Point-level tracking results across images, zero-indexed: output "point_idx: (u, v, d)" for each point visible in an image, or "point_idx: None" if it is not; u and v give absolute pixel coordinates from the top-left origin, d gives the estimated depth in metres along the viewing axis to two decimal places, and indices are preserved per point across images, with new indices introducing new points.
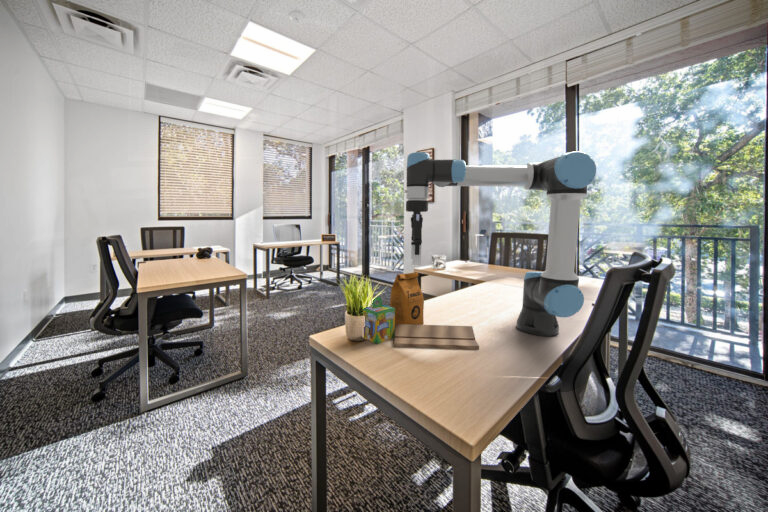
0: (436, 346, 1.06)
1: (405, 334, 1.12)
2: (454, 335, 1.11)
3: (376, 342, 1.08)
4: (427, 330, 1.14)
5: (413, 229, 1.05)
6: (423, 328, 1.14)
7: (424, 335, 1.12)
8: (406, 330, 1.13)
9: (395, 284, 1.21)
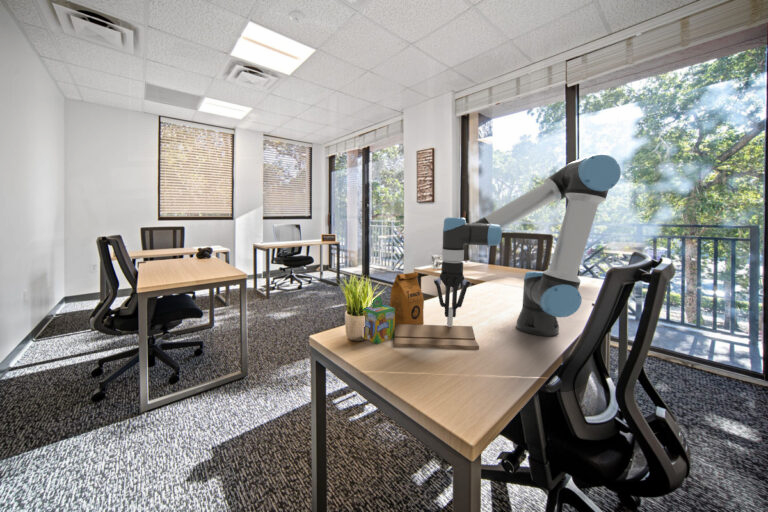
0: (436, 346, 1.06)
1: (405, 334, 1.12)
2: (454, 335, 1.11)
3: (376, 342, 1.08)
4: (427, 330, 1.14)
5: (445, 291, 1.15)
6: (423, 328, 1.14)
7: (424, 335, 1.12)
8: (406, 331, 1.14)
9: (395, 284, 1.21)
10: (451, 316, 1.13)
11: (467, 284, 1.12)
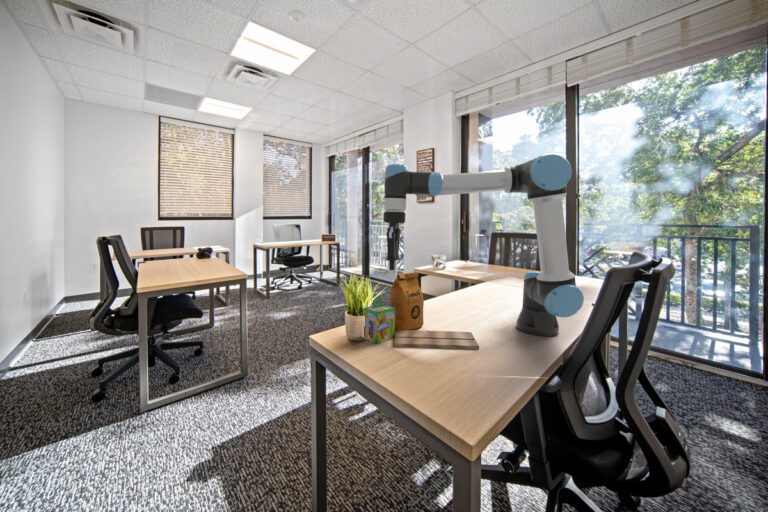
0: (436, 346, 1.06)
1: (405, 335, 1.13)
2: (454, 336, 1.12)
3: (376, 342, 1.08)
4: (426, 333, 1.15)
5: None
6: (423, 332, 1.16)
7: (424, 336, 1.12)
8: (406, 333, 1.14)
9: (395, 284, 1.21)
10: (396, 268, 1.12)
11: None
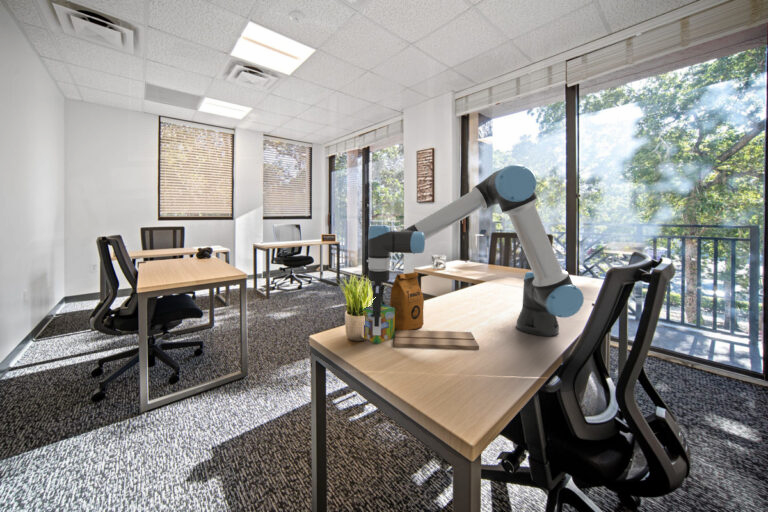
0: (436, 346, 1.06)
1: (405, 335, 1.13)
2: (454, 336, 1.12)
3: (376, 342, 1.08)
4: (426, 333, 1.15)
5: None
6: (423, 332, 1.16)
7: (424, 336, 1.12)
8: (406, 333, 1.14)
9: (395, 284, 1.21)
10: None
11: (382, 282, 1.18)
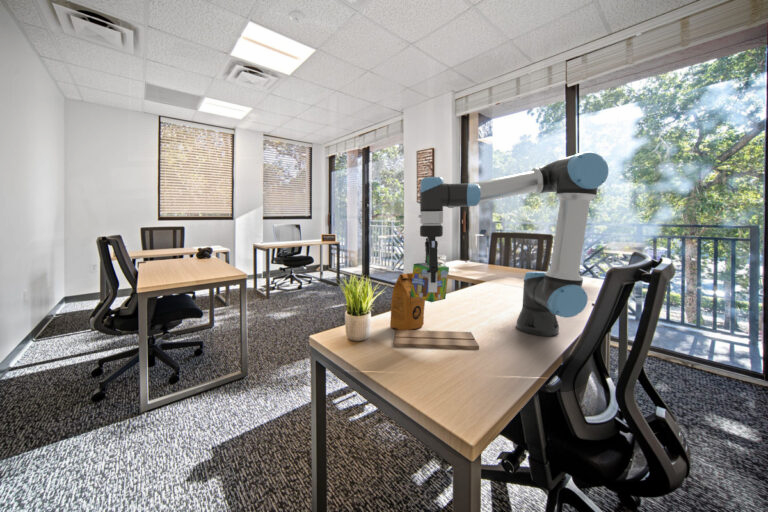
0: (436, 346, 1.06)
1: (405, 335, 1.13)
2: (454, 336, 1.12)
3: (430, 300, 1.03)
4: (426, 333, 1.15)
5: (428, 256, 1.03)
6: (423, 332, 1.16)
7: (424, 336, 1.12)
8: (406, 333, 1.14)
9: (397, 284, 1.20)
10: None
11: None
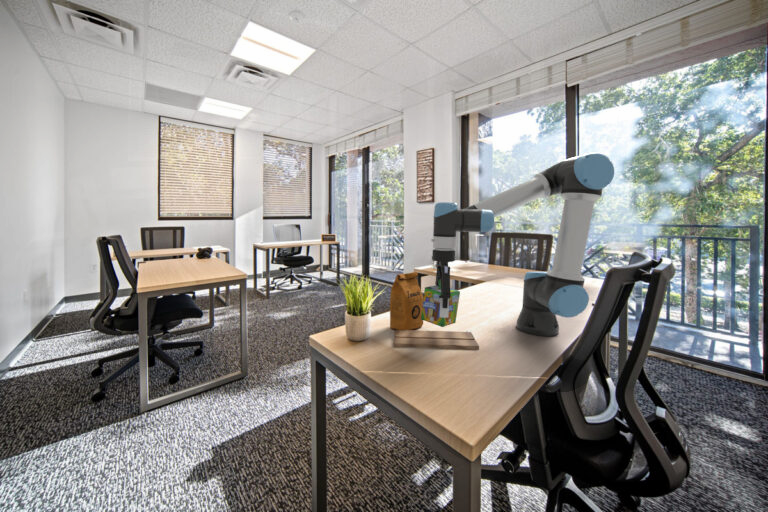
0: (436, 346, 1.06)
1: (405, 335, 1.13)
2: (454, 336, 1.12)
3: (441, 325, 1.03)
4: (426, 333, 1.15)
5: (440, 280, 1.03)
6: (423, 332, 1.16)
7: (424, 336, 1.12)
8: (406, 333, 1.14)
9: (395, 284, 1.21)
10: None
11: None
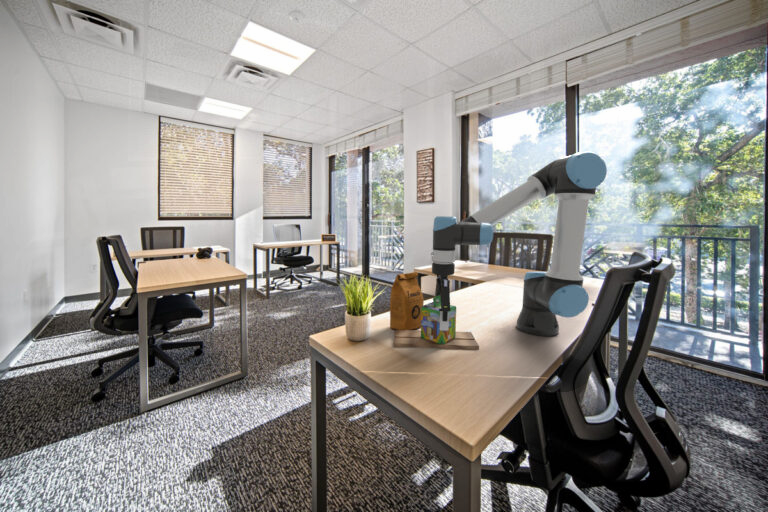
0: (436, 346, 1.06)
1: (405, 335, 1.13)
2: None
3: (441, 342, 1.05)
4: None
5: (440, 294, 1.04)
6: None
7: None
8: (406, 333, 1.14)
9: (395, 284, 1.21)
10: None
11: None
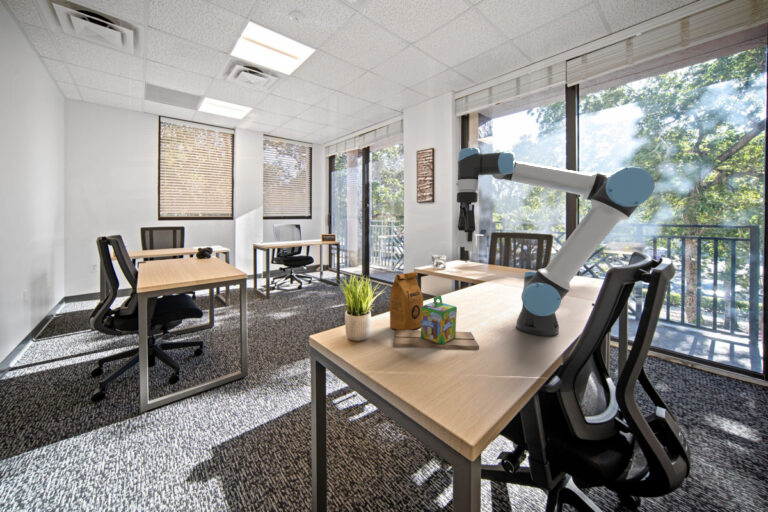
0: (436, 346, 1.06)
1: (405, 335, 1.13)
2: None
3: (441, 342, 1.05)
4: None
5: (465, 218, 1.15)
6: None
7: None
8: (406, 333, 1.14)
9: (395, 284, 1.21)
10: None
11: None
